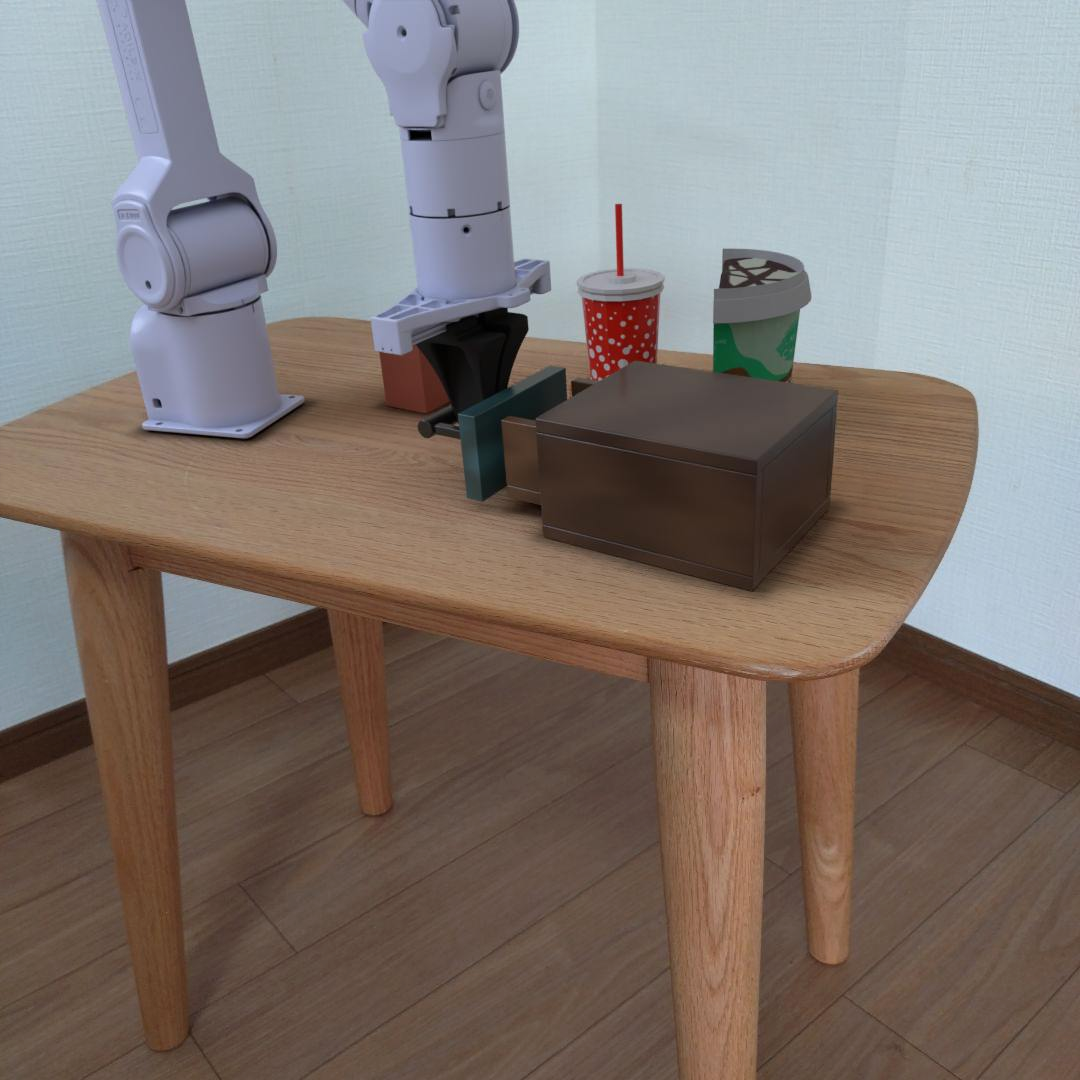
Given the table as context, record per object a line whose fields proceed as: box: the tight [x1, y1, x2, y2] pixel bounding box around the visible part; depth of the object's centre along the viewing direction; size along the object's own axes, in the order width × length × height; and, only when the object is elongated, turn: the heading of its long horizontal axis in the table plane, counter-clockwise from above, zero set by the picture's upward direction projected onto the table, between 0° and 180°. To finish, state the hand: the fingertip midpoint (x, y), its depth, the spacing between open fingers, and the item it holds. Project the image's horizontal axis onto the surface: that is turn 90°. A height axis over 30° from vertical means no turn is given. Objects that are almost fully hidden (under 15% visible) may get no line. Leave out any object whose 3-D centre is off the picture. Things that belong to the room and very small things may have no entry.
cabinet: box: [535, 361, 839, 592], centre depth 57 cm, size 13×11×7 cm
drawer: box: [417, 365, 599, 506], centre depth 61 cm, size 16×9×5 cm, turn 56°
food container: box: [712, 248, 813, 383], centre depth 71 cm, size 12×6×10 cm, turn 168°
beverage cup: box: [576, 203, 666, 381], centre depth 73 cm, size 6×6×14 cm
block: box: [378, 345, 450, 414], centre depth 78 cm, size 4×4×6 cm
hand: (480, 433), depth 65 cm, fingers closed, pressing on drawer
